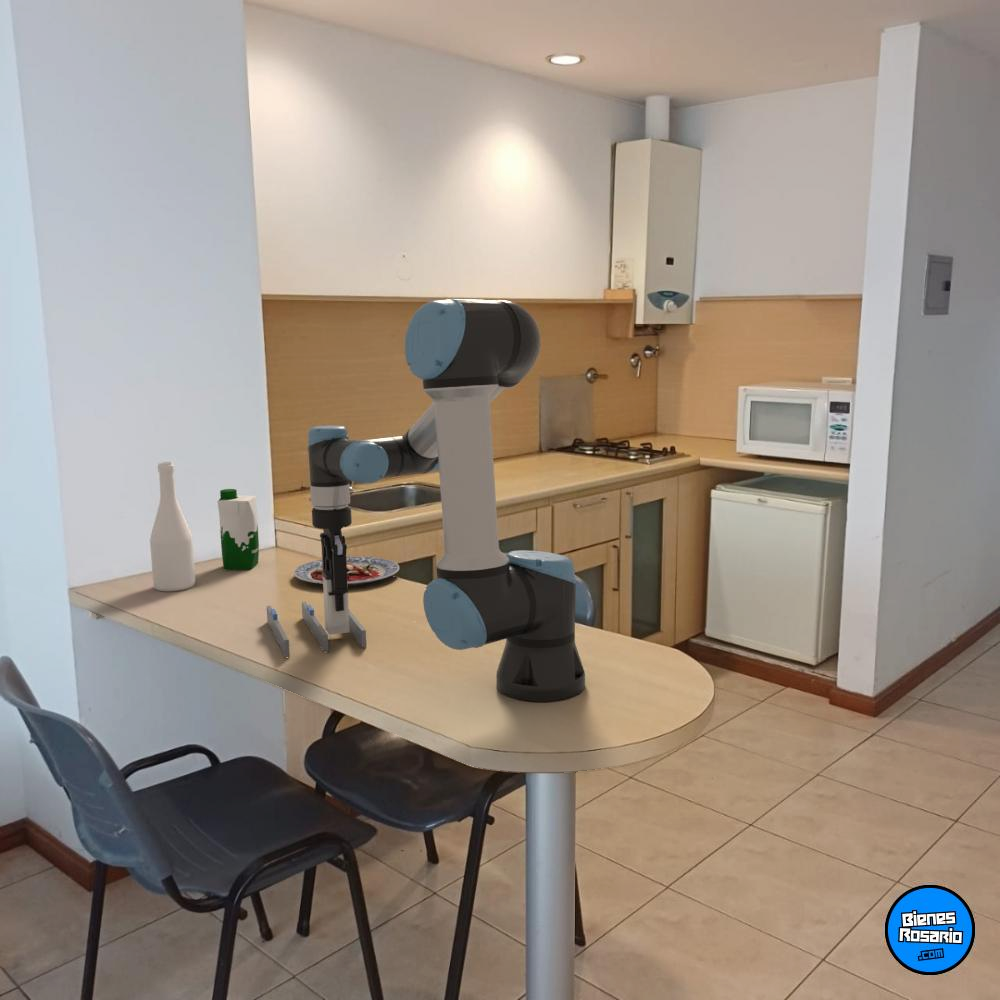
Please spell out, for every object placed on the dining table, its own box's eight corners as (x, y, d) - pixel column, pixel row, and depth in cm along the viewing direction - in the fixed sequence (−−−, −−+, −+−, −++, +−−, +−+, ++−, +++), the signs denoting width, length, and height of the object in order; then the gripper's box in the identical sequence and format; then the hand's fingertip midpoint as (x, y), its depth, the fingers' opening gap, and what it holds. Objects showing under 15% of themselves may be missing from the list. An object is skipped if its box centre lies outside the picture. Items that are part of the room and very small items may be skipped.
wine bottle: (151, 585, 232) (141, 461, 227) (192, 579, 236) (183, 458, 231) (156, 594, 224) (146, 466, 218) (199, 589, 228) (190, 463, 223)
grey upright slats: (366, 647, 185) (365, 625, 185) (285, 658, 180) (284, 635, 179) (340, 613, 208) (339, 593, 207) (267, 622, 202) (266, 601, 201)
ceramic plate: (317, 598, 220) (317, 585, 220) (278, 574, 242) (277, 562, 241) (418, 581, 234) (417, 569, 234) (372, 560, 255) (372, 549, 255)
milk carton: (228, 562, 253) (224, 487, 250) (263, 562, 253) (258, 487, 250) (218, 570, 245) (213, 493, 241) (254, 570, 245) (249, 493, 241)
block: (350, 632, 190) (347, 572, 188) (329, 635, 188) (325, 575, 186) (345, 626, 194) (342, 568, 191) (324, 629, 192) (321, 570, 190)
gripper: (360, 511, 180) (365, 632, 184) (341, 497, 196) (346, 609, 200) (320, 515, 177) (326, 637, 181) (304, 500, 193) (310, 613, 197)
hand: (337, 622), depth 191 cm, fingers closed on block, 4 cm apart
